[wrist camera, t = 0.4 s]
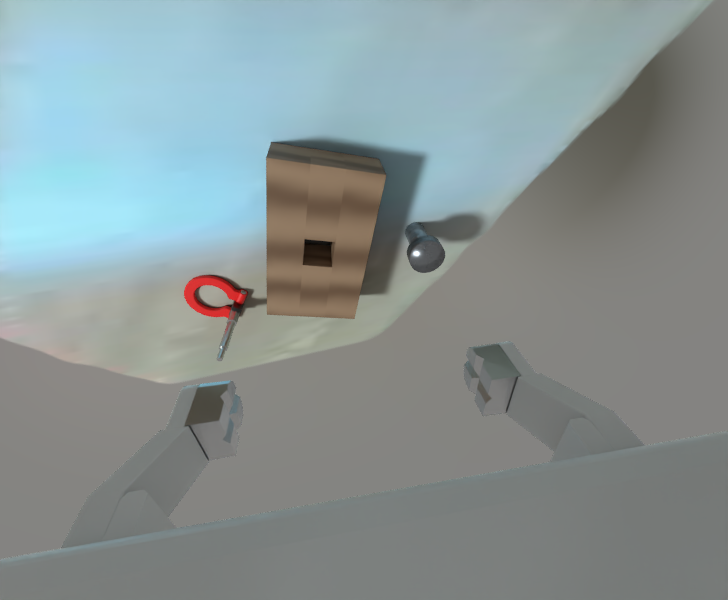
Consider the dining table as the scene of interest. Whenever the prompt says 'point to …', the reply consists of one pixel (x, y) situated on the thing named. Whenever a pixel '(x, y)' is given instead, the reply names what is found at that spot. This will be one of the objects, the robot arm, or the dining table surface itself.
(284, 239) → the hitch block
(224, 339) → the tow hook
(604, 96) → the dining table surface
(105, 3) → the dining table surface
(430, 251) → the steel pin
